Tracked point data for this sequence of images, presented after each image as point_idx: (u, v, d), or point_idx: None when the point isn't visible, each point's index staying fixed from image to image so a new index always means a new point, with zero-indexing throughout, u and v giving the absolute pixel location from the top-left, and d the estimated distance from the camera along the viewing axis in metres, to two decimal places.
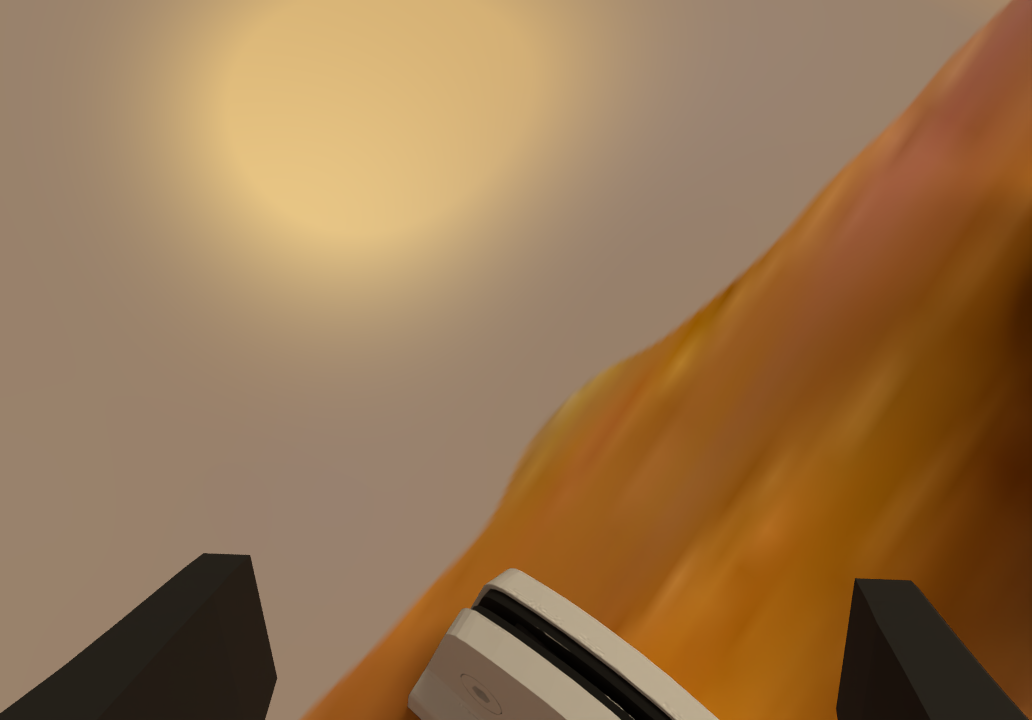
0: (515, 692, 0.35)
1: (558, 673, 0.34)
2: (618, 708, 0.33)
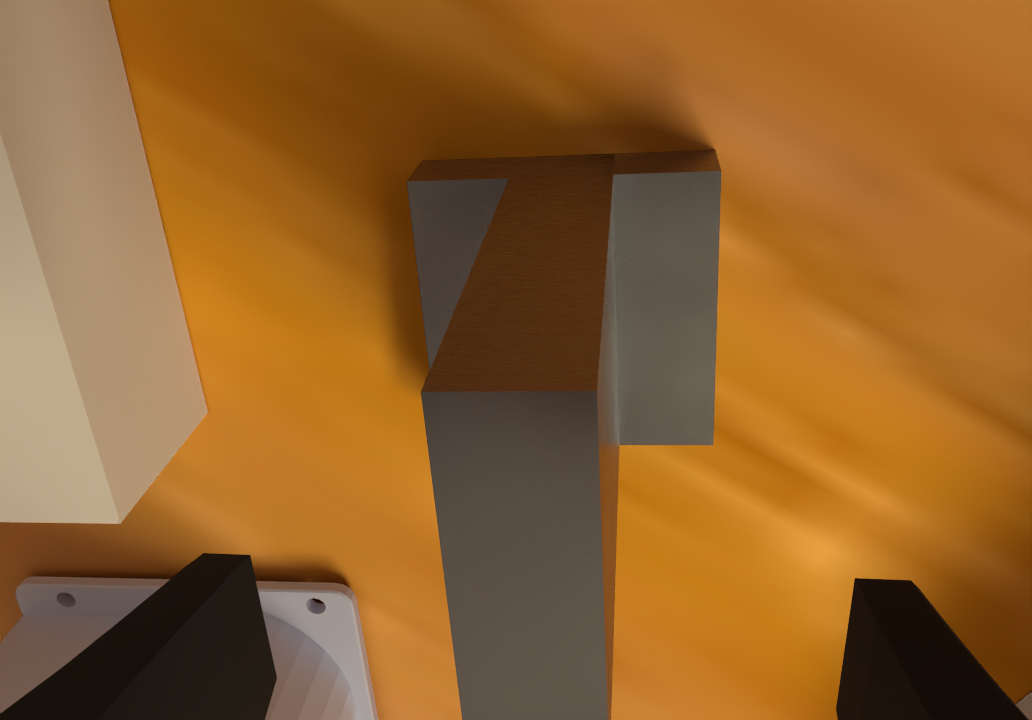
0: None
1: None
2: None
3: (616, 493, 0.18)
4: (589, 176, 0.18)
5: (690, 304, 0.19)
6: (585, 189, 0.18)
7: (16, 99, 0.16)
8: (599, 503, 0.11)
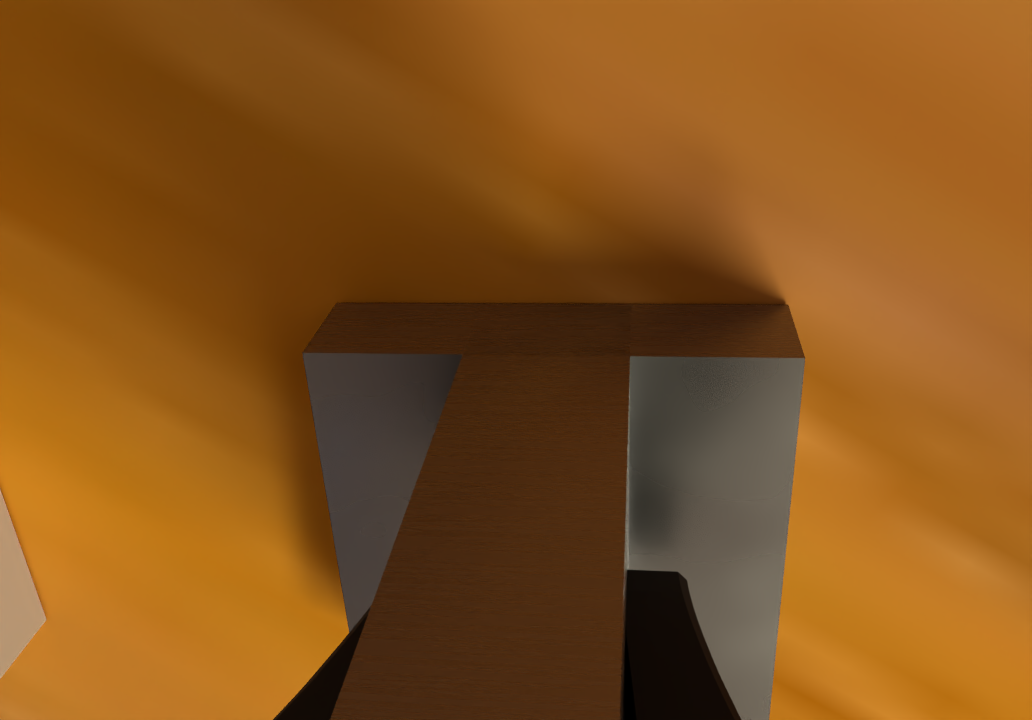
0: None
1: None
2: None
3: None
4: (591, 357, 0.11)
5: (744, 544, 0.12)
6: (583, 391, 0.11)
7: None
8: None
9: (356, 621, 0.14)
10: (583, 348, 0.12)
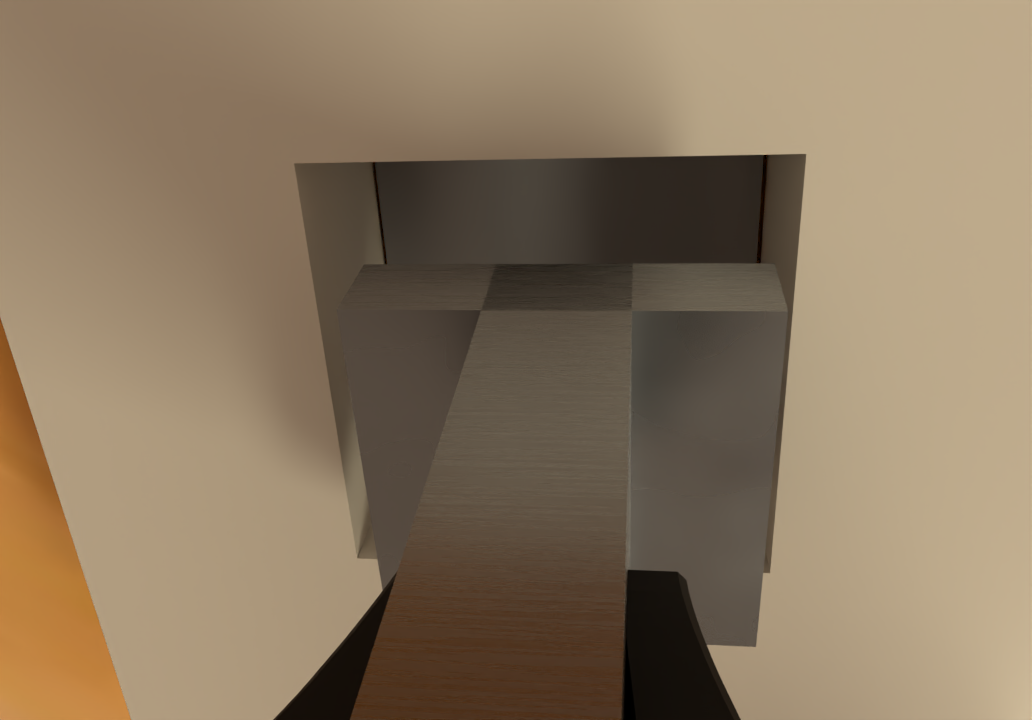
0: None
1: None
2: None
3: None
4: (597, 312, 0.13)
5: (734, 479, 0.14)
6: (590, 342, 0.12)
7: None
8: None
9: (384, 553, 0.15)
10: (589, 304, 0.13)
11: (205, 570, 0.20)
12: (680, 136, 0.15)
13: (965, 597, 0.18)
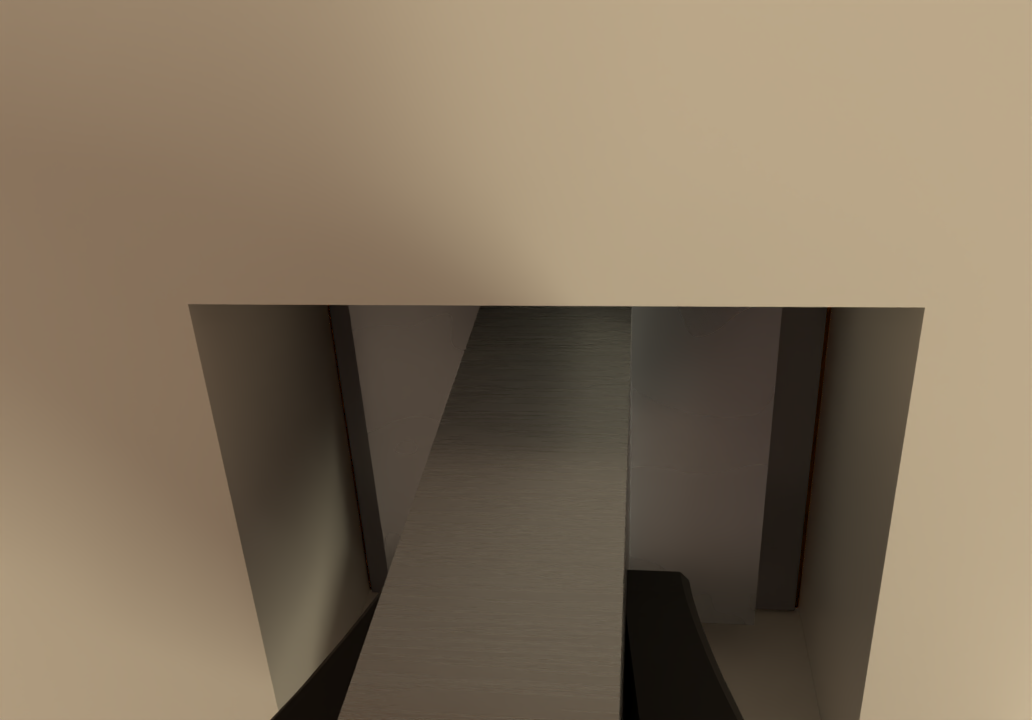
0: None
1: None
2: None
3: None
4: None
5: (732, 456, 0.14)
6: (592, 317, 0.12)
7: None
8: None
9: (389, 531, 0.16)
10: None
11: None
12: (740, 280, 0.10)
13: None
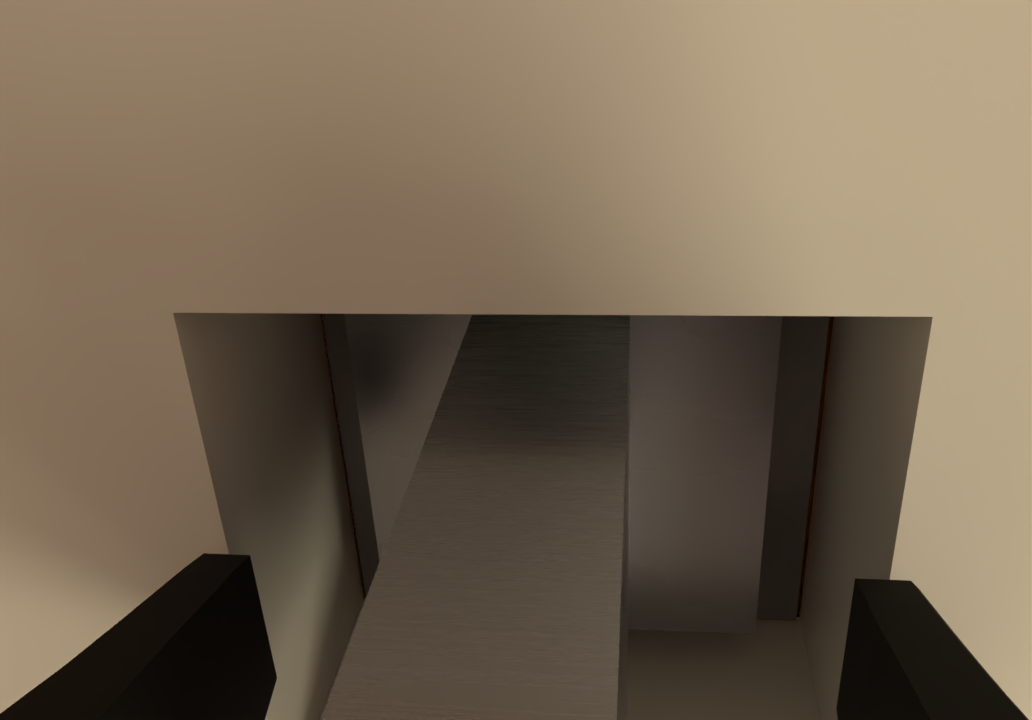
0: None
1: None
2: None
3: None
4: None
5: (732, 460, 0.14)
6: None
7: None
8: None
9: (384, 537, 0.15)
10: None
11: None
12: (742, 288, 0.10)
13: None
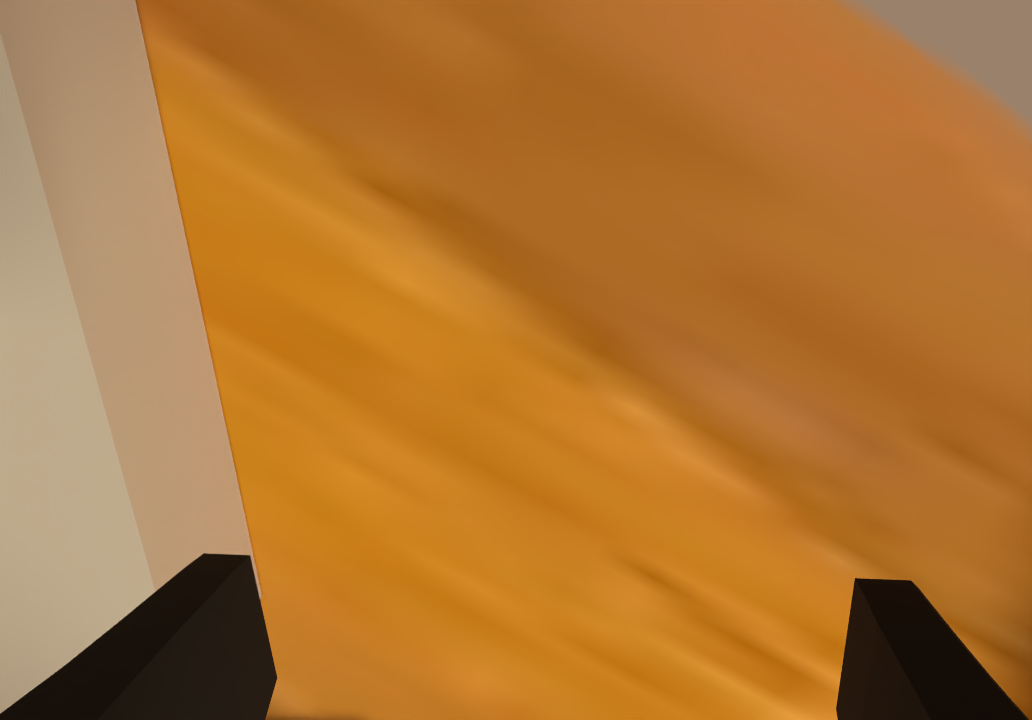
0: None
1: None
2: None
3: None
4: None
5: None
6: None
7: (122, 396, 0.19)
8: None
9: None
10: None
11: None
12: None
13: (26, 527, 0.20)
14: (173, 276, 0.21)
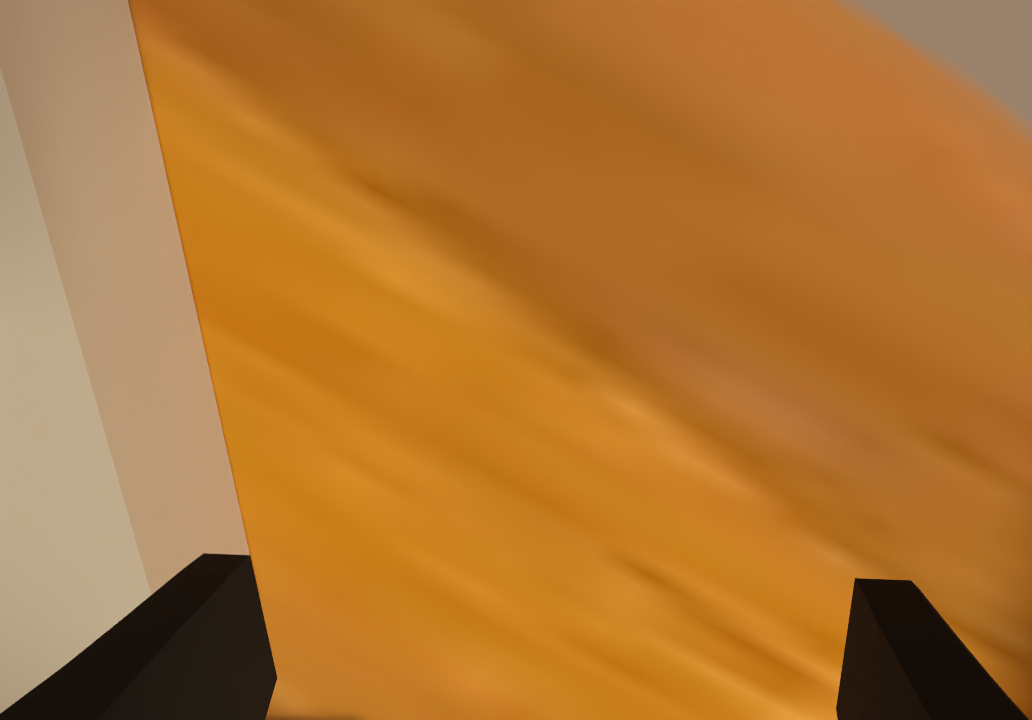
0: None
1: None
2: None
3: None
4: None
5: None
6: None
7: (116, 396, 0.19)
8: None
9: None
10: None
11: None
12: None
13: (20, 527, 0.20)
14: (167, 276, 0.21)
